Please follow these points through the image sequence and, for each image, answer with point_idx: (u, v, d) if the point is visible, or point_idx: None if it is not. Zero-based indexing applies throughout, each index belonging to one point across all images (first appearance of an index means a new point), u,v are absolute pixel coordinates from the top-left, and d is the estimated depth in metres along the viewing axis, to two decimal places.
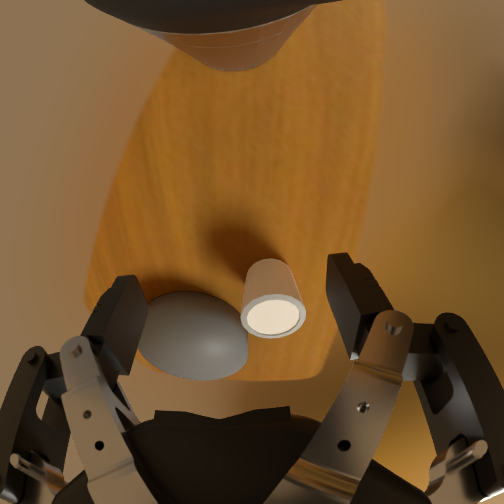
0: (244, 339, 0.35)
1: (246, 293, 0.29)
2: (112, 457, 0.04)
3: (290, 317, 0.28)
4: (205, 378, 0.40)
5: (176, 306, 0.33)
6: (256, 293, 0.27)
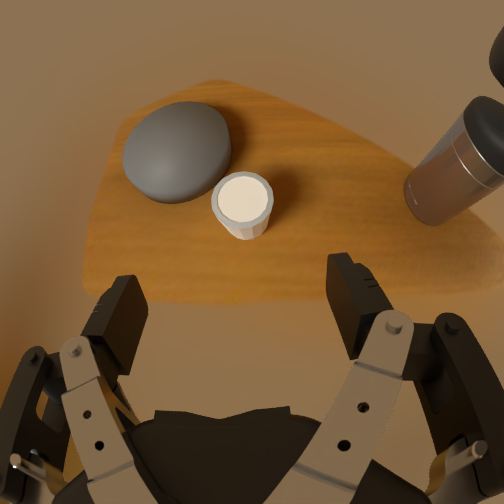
0: (184, 189, 0.34)
1: None
2: (112, 457, 0.04)
3: (242, 213, 0.29)
4: (126, 155, 0.35)
5: (229, 138, 0.36)
6: None
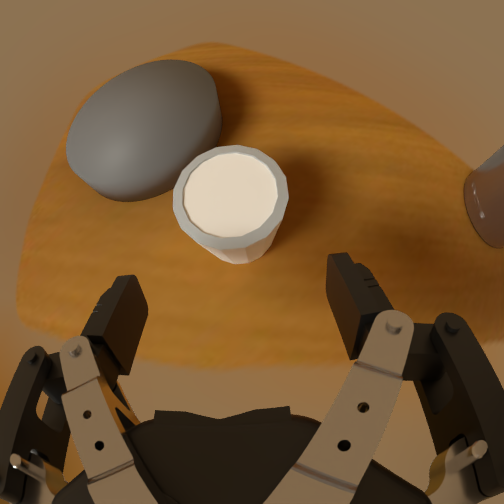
0: (140, 178, 0.20)
1: None
2: (112, 457, 0.04)
3: (227, 221, 0.15)
4: (73, 132, 0.21)
5: (218, 104, 0.22)
6: None
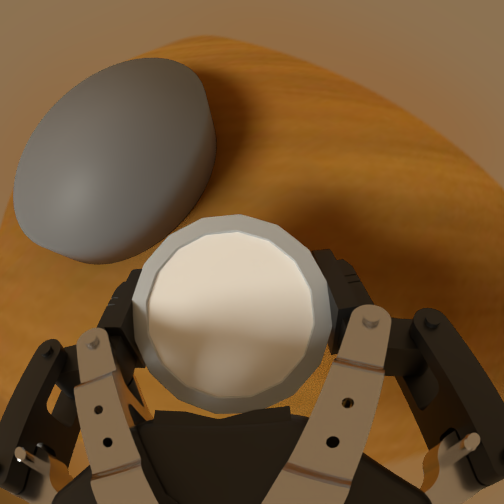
0: (97, 245, 0.13)
1: None
2: (119, 455, 0.04)
3: (225, 368, 0.08)
4: (22, 164, 0.15)
5: (209, 121, 0.16)
6: None
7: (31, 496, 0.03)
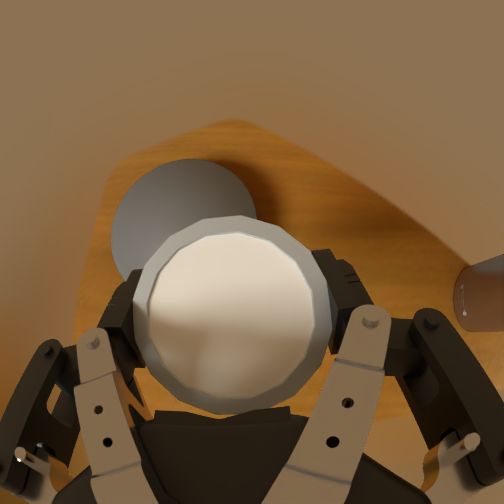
0: None
1: None
2: (119, 455, 0.04)
3: (226, 369, 0.08)
4: (116, 236, 0.27)
5: None
6: None
7: (31, 496, 0.03)
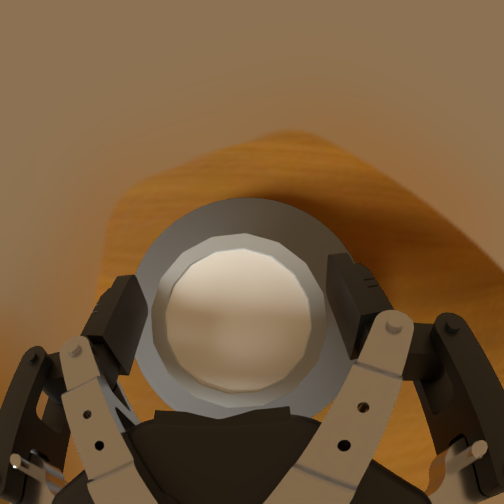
0: None
1: None
2: (112, 457, 0.04)
3: (235, 368, 0.10)
4: None
5: None
6: None
7: (30, 503, 0.02)
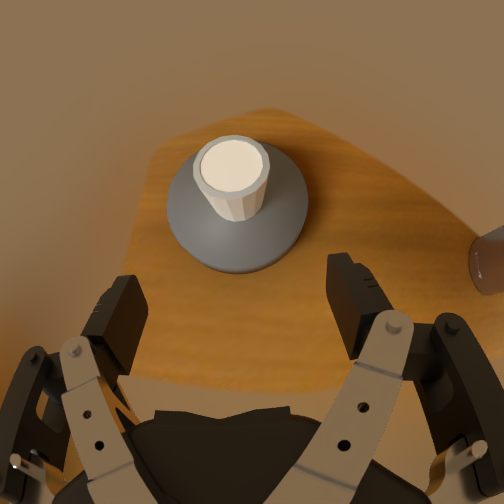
0: (257, 265, 0.29)
1: None
2: (112, 457, 0.04)
3: (230, 182, 0.23)
4: (172, 207, 0.30)
5: None
6: None
7: None
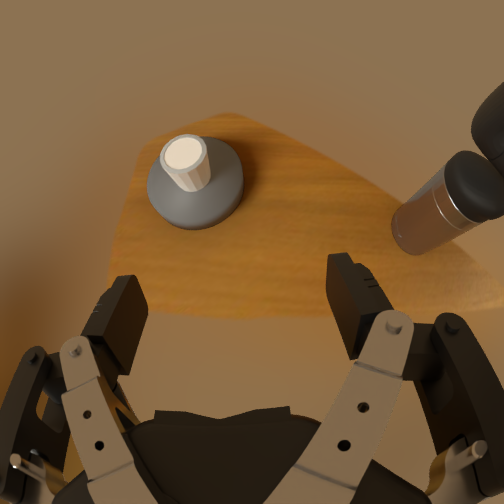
0: (203, 220, 0.41)
1: None
2: (112, 457, 0.04)
3: (181, 163, 0.35)
4: (150, 184, 0.42)
5: (242, 174, 0.43)
6: None
7: None
